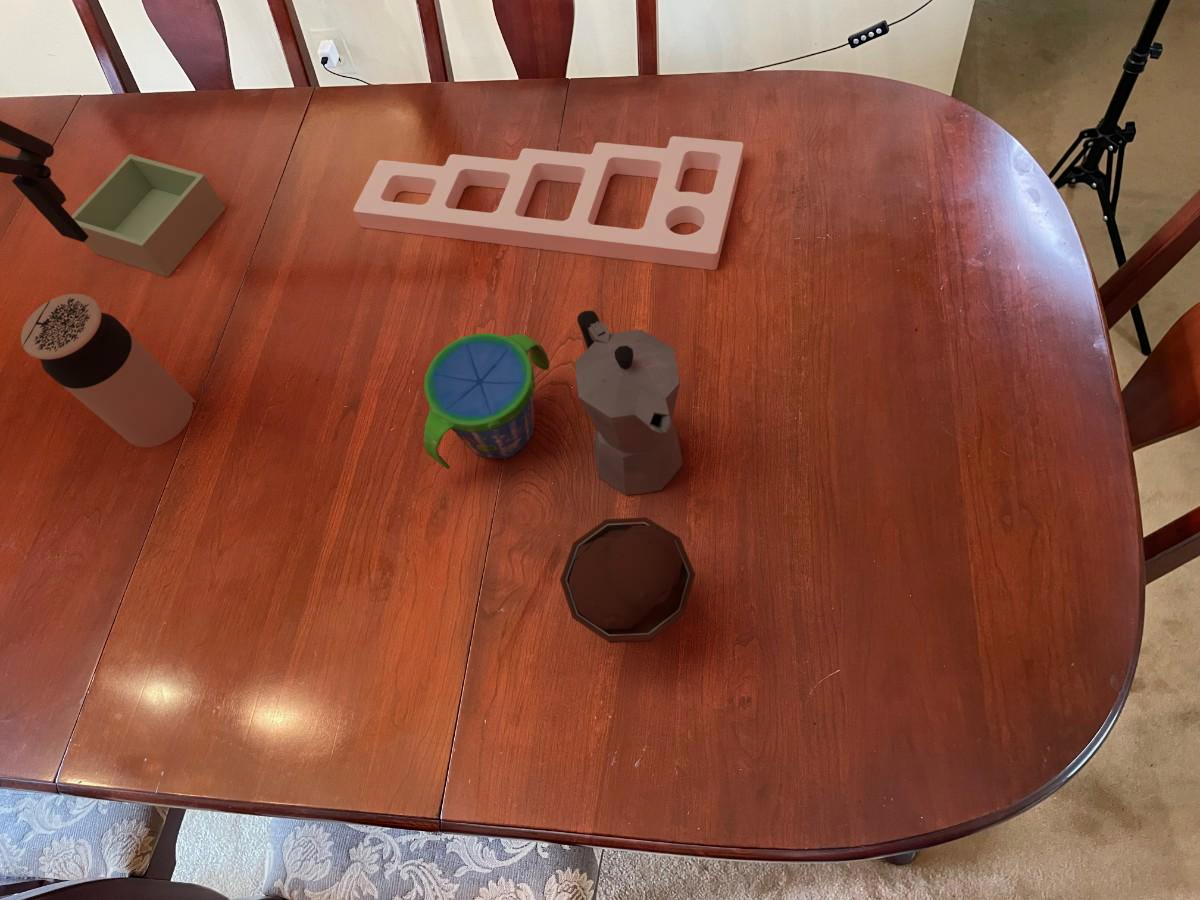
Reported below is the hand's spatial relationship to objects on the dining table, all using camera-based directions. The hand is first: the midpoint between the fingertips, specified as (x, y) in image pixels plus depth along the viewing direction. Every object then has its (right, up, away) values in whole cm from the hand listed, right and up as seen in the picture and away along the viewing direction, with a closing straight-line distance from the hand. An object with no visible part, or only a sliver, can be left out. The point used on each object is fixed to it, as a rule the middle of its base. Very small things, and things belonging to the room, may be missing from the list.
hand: (24, 291), depth 74 cm
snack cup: (+40, -12, +15) cm, 44 cm away
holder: (+44, +18, +31) cm, 57 cm away
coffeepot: (+54, -14, +12) cm, 57 cm away
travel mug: (+2, -11, +20) cm, 23 cm away
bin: (-6, +15, +35) cm, 39 cm away
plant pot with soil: (+54, -29, +4) cm, 61 cm away
